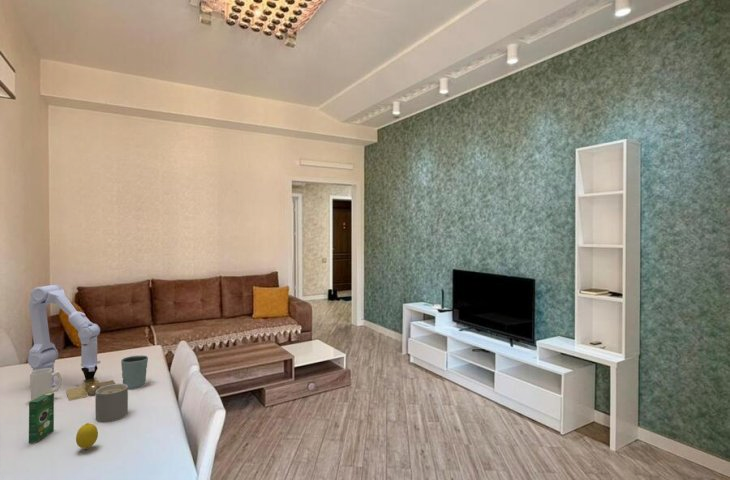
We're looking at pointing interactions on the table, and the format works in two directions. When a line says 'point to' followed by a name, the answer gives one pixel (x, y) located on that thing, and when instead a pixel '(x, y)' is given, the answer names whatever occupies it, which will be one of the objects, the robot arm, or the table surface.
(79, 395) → the brass leaf
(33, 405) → the coffee box
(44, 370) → the mug
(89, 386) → the bronze leaf with pin
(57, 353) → the robot arm
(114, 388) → the coffee mug
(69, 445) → the table surface
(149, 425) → the table surface
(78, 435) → the lemon
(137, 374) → the teal cup
